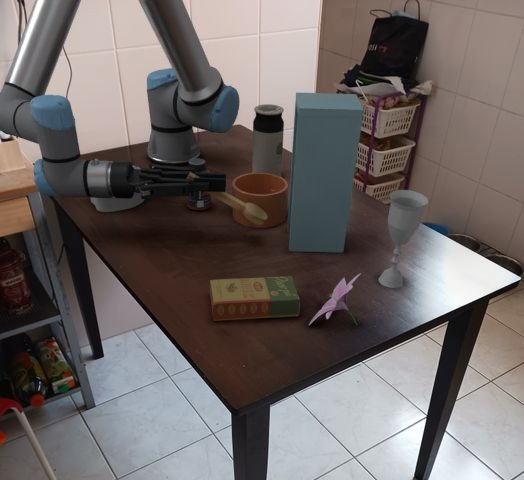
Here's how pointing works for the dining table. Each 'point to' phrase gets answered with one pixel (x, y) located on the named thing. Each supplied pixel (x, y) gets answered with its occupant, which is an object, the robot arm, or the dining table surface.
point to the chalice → (402, 229)
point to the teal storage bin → (322, 170)
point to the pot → (261, 197)
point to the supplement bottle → (200, 198)
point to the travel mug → (268, 139)
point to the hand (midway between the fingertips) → (225, 182)
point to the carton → (254, 298)
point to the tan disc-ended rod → (239, 205)
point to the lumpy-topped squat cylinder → (117, 202)
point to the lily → (337, 299)
